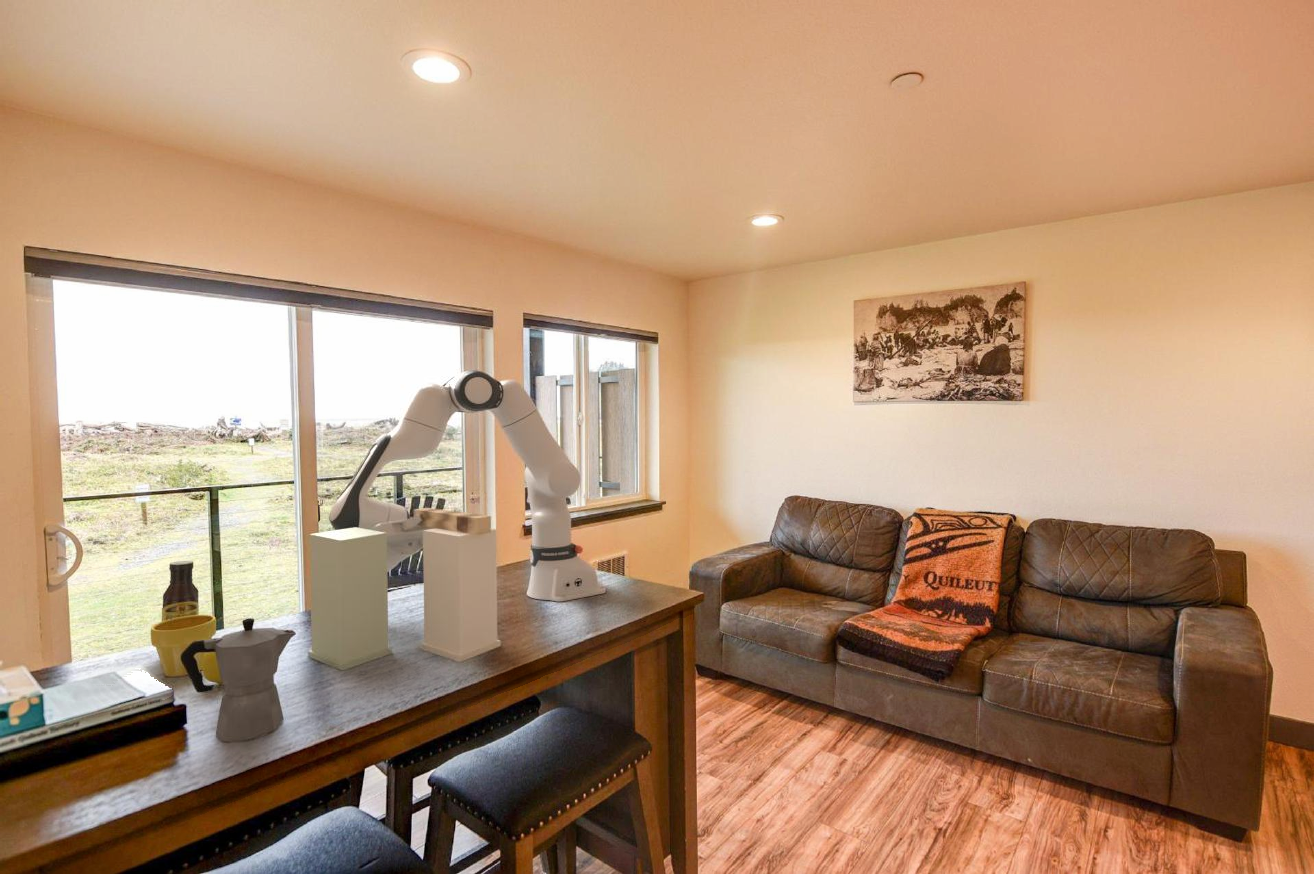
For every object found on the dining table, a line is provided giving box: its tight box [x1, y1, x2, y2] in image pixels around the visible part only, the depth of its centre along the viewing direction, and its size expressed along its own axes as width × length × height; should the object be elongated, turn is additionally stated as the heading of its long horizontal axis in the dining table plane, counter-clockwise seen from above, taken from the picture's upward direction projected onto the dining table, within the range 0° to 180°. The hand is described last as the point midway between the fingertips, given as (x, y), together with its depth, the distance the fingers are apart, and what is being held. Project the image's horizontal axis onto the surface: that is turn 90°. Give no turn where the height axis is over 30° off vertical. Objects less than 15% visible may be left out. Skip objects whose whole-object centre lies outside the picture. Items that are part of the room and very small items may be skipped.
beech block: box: [413, 507, 492, 535], centre depth 137 cm, size 22×4×4 cm, turn 56°
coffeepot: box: [181, 618, 297, 743], centre depth 100 cm, size 15×9×18 cm, turn 122°
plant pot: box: [150, 614, 217, 678], centre depth 124 cm, size 10×10×10 cm
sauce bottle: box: [161, 560, 200, 622], centre depth 132 cm, size 6×6×20 cm
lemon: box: [202, 652, 224, 686], centre depth 118 cm, size 6×6×8 cm
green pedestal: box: [307, 527, 393, 671], centre depth 132 cm, size 13×11×26 cm
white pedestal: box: [420, 527, 502, 663], centre depth 136 cm, size 13×11×26 cm
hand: (430, 515), depth 142 cm, fingers closed on beech block, 3 cm apart
